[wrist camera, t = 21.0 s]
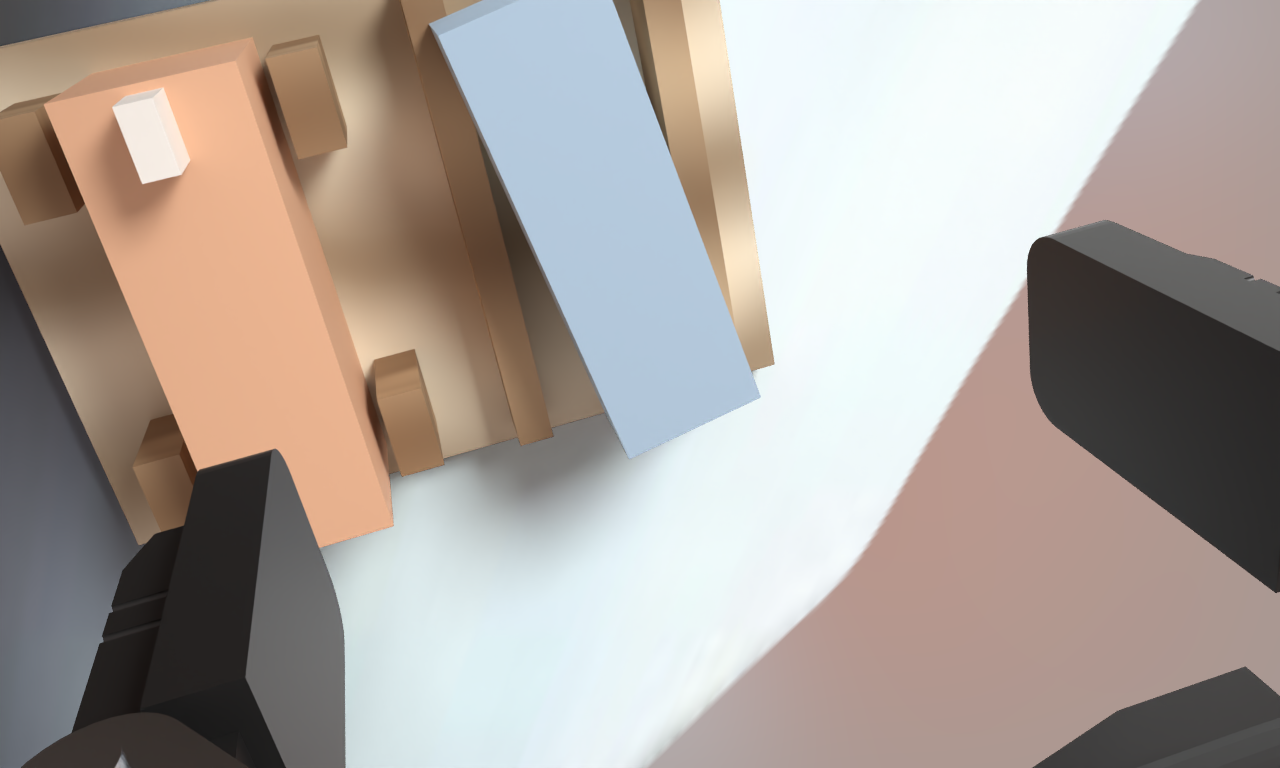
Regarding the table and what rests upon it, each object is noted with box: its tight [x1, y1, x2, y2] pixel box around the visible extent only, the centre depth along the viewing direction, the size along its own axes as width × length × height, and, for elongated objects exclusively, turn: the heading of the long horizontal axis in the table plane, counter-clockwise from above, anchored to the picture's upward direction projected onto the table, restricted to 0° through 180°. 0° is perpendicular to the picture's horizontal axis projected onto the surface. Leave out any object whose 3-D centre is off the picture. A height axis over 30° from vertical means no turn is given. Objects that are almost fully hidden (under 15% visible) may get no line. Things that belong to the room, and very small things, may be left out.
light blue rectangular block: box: [429, 0, 761, 459], centre depth 29 cm, size 12×4×3 cm, turn 23°
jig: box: [0, 0, 774, 545], centre depth 30 cm, size 14×20×4 cm
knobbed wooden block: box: [44, 37, 394, 548], centre depth 28 cm, size 12×4×6 cm, turn 13°
